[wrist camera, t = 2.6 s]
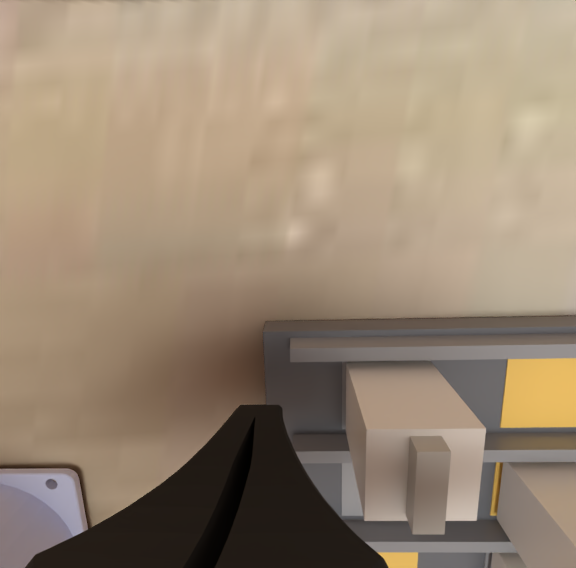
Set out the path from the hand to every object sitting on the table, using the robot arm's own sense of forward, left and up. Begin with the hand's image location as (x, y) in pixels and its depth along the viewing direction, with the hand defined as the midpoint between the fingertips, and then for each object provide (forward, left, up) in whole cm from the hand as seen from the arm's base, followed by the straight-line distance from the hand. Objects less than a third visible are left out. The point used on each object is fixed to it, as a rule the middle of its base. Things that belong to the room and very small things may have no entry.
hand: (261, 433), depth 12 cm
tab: (+4, 0, -3) cm, 5 cm away
